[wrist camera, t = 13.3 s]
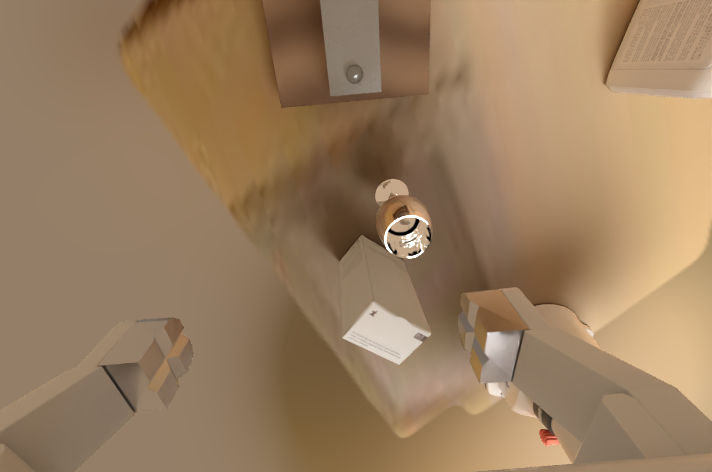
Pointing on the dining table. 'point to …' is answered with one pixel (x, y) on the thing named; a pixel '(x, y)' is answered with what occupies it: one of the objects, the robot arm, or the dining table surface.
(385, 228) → the wineglass
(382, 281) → the skincare box
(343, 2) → the plate
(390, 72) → the stand
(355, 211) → the dining table surface
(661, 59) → the photo printer
